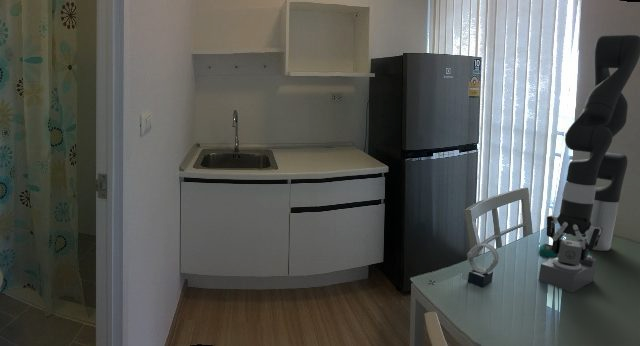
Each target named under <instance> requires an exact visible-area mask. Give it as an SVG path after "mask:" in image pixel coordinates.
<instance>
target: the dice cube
mask: <svg viewBox="0 0 640 346" xmlns="http://www.w3.org/2000/svg"><path fill="white" fill-rule="evenodd" d="M581 252H582V247H581V246H580V243H579V241H576V240H570V239H563V238H561V239H560V244H559V250H558V261H559V262H564V263H570V264H575V265H579V263H580V258H581Z"/></svg>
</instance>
